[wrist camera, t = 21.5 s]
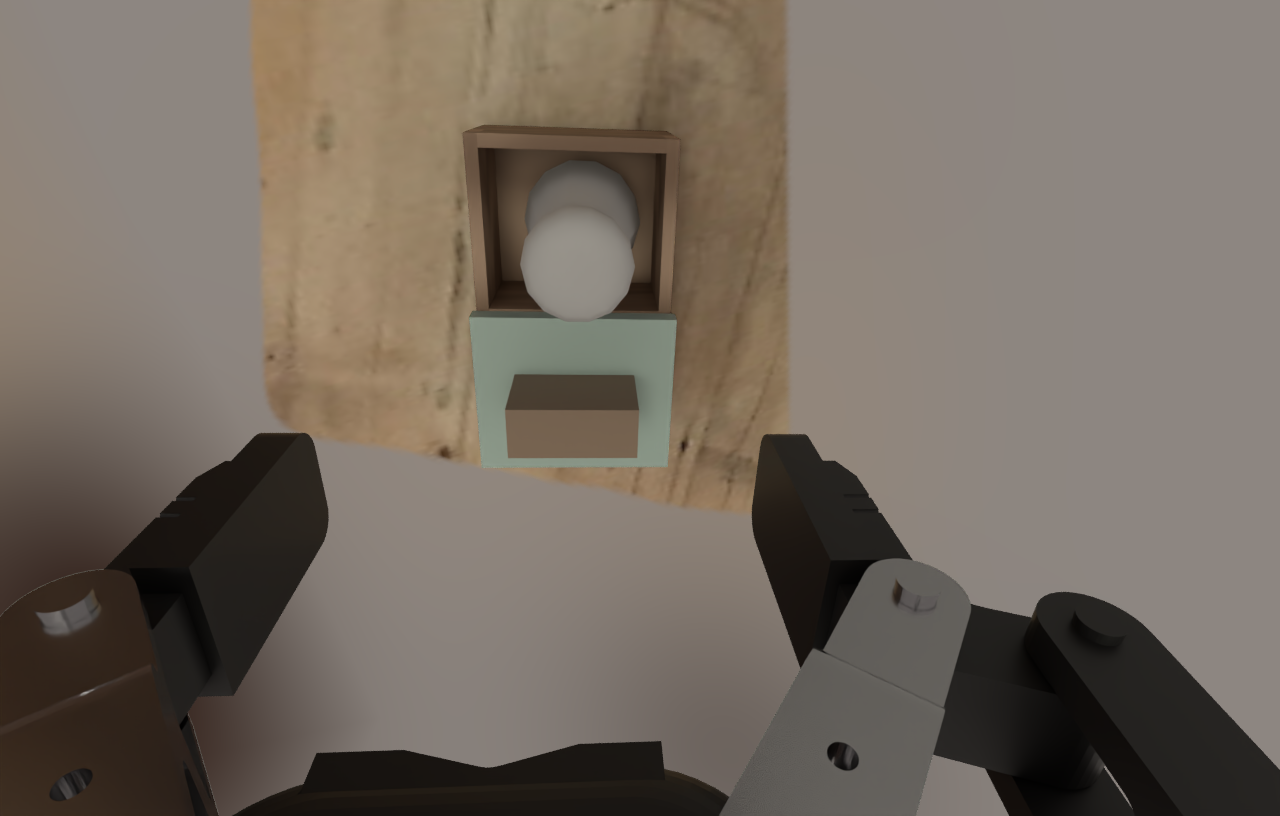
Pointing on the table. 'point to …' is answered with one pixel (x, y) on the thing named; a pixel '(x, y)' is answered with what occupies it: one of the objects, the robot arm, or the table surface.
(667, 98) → the table surface
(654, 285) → the box
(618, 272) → the salt shaker
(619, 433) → the lid
